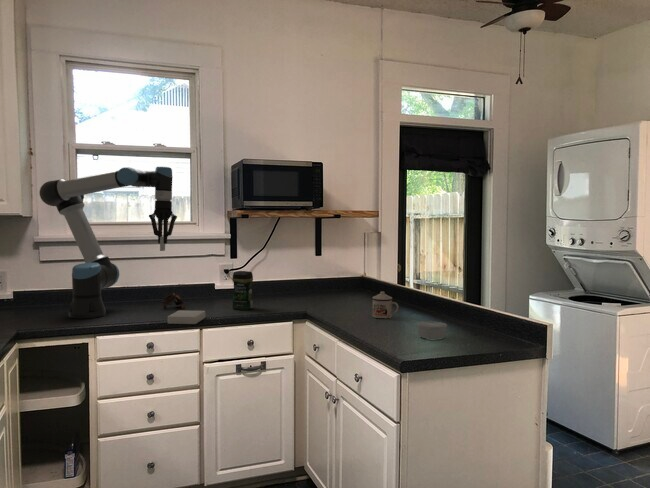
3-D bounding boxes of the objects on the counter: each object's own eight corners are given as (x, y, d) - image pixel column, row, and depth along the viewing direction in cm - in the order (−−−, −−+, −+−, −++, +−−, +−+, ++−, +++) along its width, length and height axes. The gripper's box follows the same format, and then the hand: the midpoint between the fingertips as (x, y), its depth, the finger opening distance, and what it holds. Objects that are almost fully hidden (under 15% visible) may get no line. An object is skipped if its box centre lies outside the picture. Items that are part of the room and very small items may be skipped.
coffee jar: (230, 309, 245) (229, 271, 244) (237, 307, 252) (237, 269, 251) (248, 310, 242) (248, 272, 241) (255, 308, 249) (255, 270, 248)
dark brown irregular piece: (182, 311, 244) (173, 296, 242) (166, 319, 246) (157, 305, 243) (189, 300, 255) (180, 287, 253) (173, 308, 257) (165, 294, 255)
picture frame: (178, 317, 227) (167, 324, 213) (178, 310, 226) (167, 316, 212) (205, 318, 226) (195, 324, 212) (205, 310, 226) (195, 316, 212)
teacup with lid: (369, 318, 225) (369, 292, 224) (376, 314, 233) (376, 289, 232) (395, 320, 220) (395, 294, 219) (401, 317, 228) (401, 291, 227)
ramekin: (442, 334, 195) (442, 320, 195) (450, 341, 184) (450, 327, 184) (413, 334, 195) (413, 320, 195) (420, 341, 184) (420, 327, 184)
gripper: (146, 199, 233) (145, 250, 234) (174, 200, 233) (173, 251, 234) (152, 200, 241) (151, 249, 242) (179, 201, 240) (178, 250, 241)
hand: (162, 250), depth 238 cm, fingers closed
